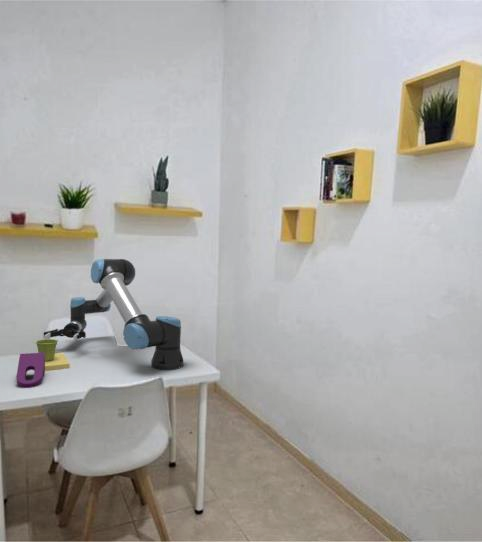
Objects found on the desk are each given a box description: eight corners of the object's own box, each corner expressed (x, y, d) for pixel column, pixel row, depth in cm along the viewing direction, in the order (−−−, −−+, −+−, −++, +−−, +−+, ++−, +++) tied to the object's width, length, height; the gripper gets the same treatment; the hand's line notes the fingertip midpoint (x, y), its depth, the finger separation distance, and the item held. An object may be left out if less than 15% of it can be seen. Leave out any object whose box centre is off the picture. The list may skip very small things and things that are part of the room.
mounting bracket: (42, 397, 170) (45, 367, 185) (41, 382, 166) (44, 352, 181) (16, 400, 167) (21, 368, 181) (14, 384, 163) (20, 353, 177)
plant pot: (41, 356, 200) (41, 338, 199) (61, 357, 200) (61, 339, 199) (31, 362, 190) (31, 343, 190) (52, 363, 190) (52, 344, 190)
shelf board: (69, 367, 191) (69, 363, 191) (40, 371, 184) (40, 366, 184) (62, 356, 208) (62, 352, 208) (35, 359, 202) (35, 355, 201)
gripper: (96, 336, 226) (86, 346, 205) (48, 336, 223) (32, 346, 202) (96, 322, 225) (86, 331, 204) (48, 322, 223) (32, 330, 202)
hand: (59, 338), depth 203 cm, fingers open, 13 cm apart
